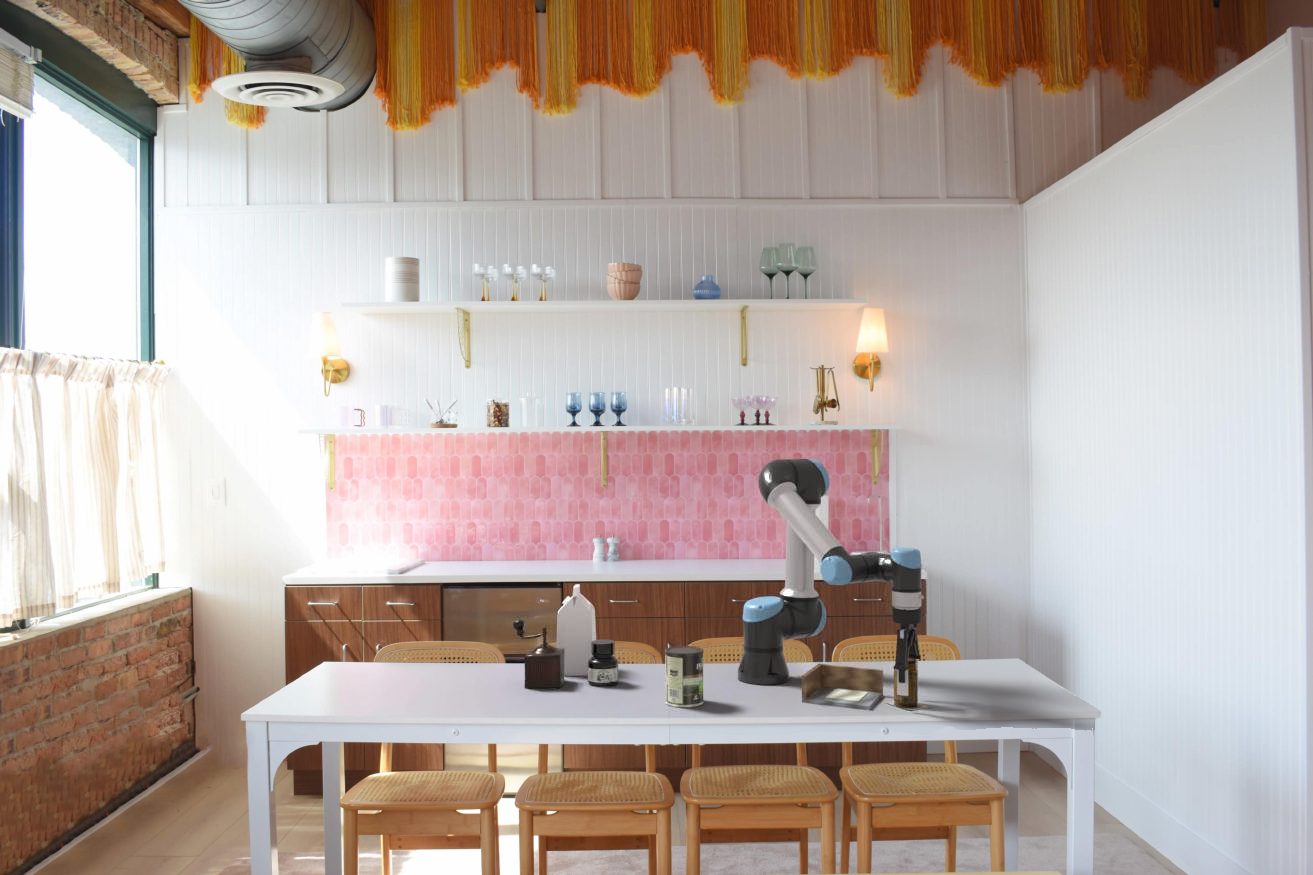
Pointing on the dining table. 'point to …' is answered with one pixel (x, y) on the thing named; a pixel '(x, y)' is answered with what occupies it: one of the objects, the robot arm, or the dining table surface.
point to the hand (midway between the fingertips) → (907, 689)
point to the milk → (576, 633)
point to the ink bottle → (603, 664)
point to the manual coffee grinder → (542, 662)
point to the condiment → (912, 698)
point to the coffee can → (684, 676)
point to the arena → (842, 686)
